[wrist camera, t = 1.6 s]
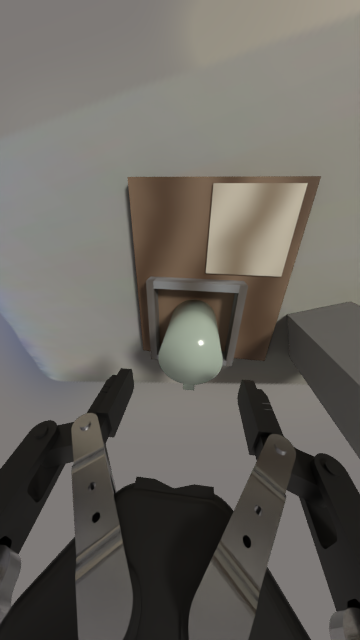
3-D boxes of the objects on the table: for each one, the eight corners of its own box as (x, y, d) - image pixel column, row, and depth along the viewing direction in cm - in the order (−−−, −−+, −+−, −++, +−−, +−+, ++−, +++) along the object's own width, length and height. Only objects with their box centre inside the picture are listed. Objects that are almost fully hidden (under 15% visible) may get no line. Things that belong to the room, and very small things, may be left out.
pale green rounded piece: (218, 300, 21) (227, 336, 14) (211, 353, 25) (215, 404, 17) (171, 298, 21) (157, 331, 14) (171, 350, 25) (160, 397, 18)
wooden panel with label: (314, 179, 16) (337, 169, 13) (262, 356, 25) (269, 371, 22) (131, 179, 17) (118, 170, 15) (145, 346, 26) (139, 359, 24)
